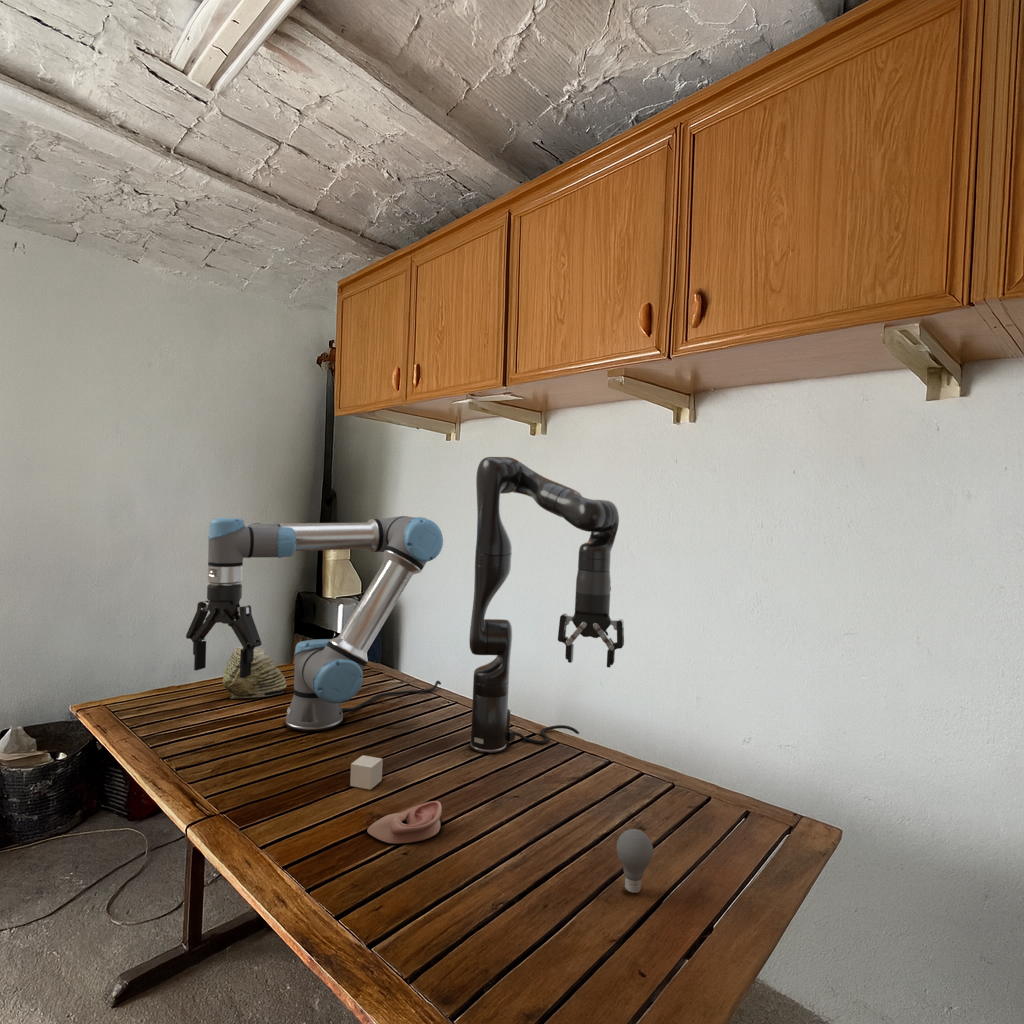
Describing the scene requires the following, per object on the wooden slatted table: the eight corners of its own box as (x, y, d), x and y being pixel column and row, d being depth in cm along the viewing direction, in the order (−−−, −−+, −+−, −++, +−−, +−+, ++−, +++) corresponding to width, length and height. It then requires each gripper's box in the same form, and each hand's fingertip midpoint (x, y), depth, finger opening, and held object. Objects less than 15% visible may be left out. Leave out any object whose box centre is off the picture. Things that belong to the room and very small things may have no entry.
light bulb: (610, 879, 108) (613, 822, 108) (644, 879, 109) (647, 822, 109) (619, 902, 102) (622, 840, 102) (655, 901, 103) (658, 840, 103)
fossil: (218, 695, 195) (220, 647, 195) (278, 685, 208) (279, 640, 207) (228, 703, 189) (230, 653, 188) (289, 692, 201) (290, 645, 201)
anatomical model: (360, 817, 118) (385, 790, 129) (359, 839, 118) (384, 809, 129) (428, 828, 115) (447, 799, 126) (427, 850, 115) (446, 819, 126)
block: (350, 785, 139) (350, 763, 139) (361, 776, 144) (362, 755, 144) (370, 789, 138) (371, 767, 138) (381, 780, 143) (382, 758, 143)
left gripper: (171, 580, 150) (168, 669, 151) (256, 589, 142) (253, 683, 142) (196, 577, 157) (194, 662, 158) (279, 585, 149) (276, 675, 149)
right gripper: (557, 590, 137) (554, 664, 137) (623, 595, 133) (620, 672, 133) (564, 586, 144) (561, 656, 144) (627, 591, 140) (624, 664, 140)
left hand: (222, 672), depth 150 cm, fingers open, 13 cm apart
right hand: (589, 664), depth 139 cm, fingers open, 8 cm apart
